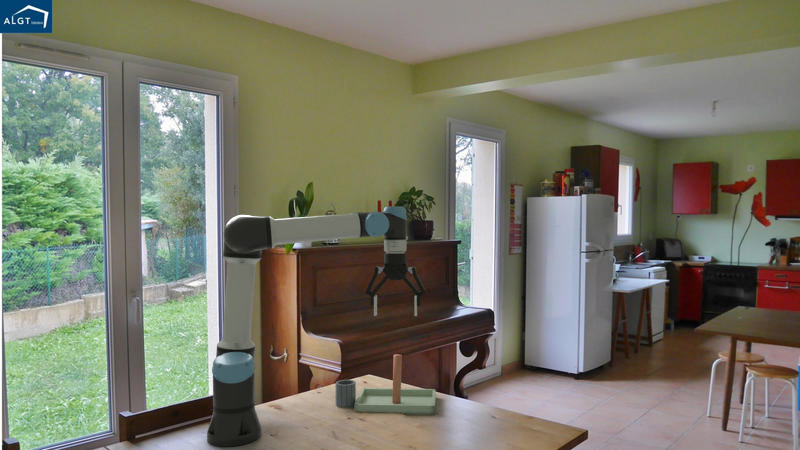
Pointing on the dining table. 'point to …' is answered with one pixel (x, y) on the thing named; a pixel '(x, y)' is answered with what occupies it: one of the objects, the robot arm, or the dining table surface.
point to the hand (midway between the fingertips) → (395, 315)
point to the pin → (397, 379)
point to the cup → (345, 393)
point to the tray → (410, 404)
